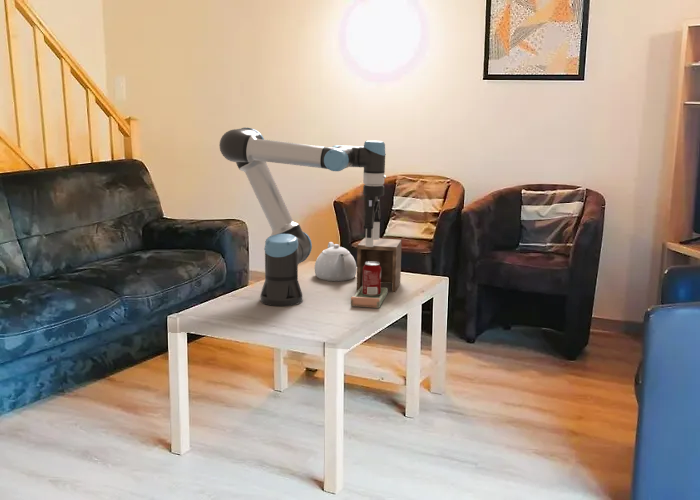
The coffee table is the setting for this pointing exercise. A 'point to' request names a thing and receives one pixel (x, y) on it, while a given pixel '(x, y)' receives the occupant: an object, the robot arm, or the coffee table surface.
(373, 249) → the open wooden crate
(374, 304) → the tray
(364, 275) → the soda can
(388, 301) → the coffee table surface
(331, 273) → the teapot
